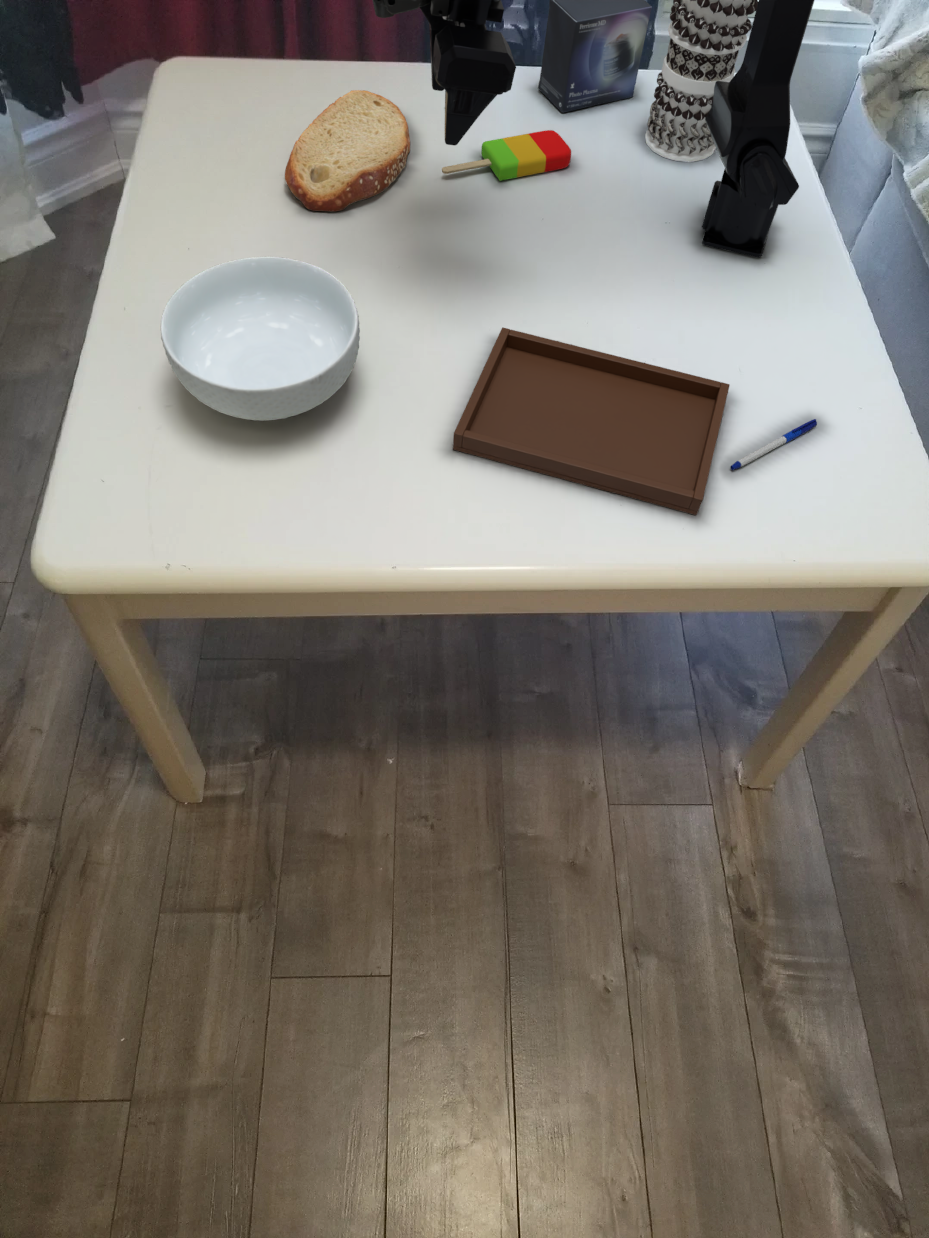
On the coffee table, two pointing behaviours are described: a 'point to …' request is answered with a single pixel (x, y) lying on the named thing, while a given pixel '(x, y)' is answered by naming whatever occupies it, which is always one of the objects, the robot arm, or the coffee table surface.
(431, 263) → the coffee table surface
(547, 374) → the tray
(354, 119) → the bread slice
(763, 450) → the ballpoint pen
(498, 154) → the popsicle
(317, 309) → the cereal bowl
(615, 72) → the small box
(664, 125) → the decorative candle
